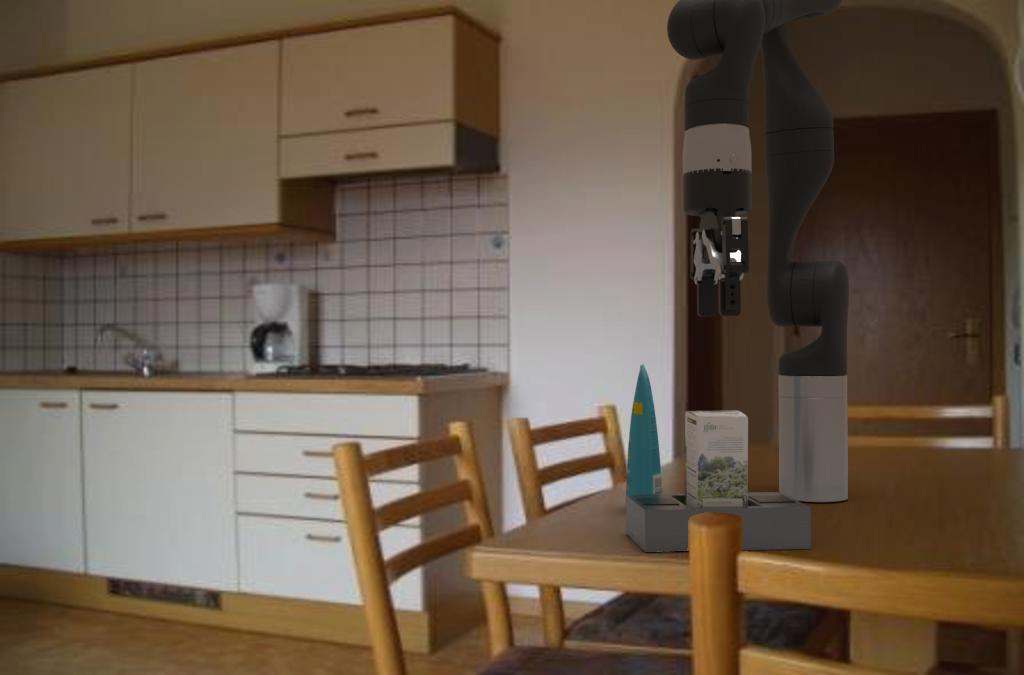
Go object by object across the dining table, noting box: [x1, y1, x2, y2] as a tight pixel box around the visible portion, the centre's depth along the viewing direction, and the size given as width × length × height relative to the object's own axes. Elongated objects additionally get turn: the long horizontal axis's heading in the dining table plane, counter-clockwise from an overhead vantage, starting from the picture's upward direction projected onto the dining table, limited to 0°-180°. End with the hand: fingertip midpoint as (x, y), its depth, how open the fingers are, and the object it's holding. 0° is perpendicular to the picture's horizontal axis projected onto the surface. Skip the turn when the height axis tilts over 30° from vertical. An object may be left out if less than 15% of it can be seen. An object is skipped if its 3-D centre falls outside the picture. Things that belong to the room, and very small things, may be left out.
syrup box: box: [684, 409, 749, 508], centre depth 108 cm, size 6×6×14 cm
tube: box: [625, 363, 663, 496], centre depth 127 cm, size 7×5×19 cm, turn 175°
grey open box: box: [625, 491, 812, 553], centre depth 108 cm, size 10×18×5 cm, turn 95°
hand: (718, 316), depth 109 cm, fingers open, 8 cm apart
